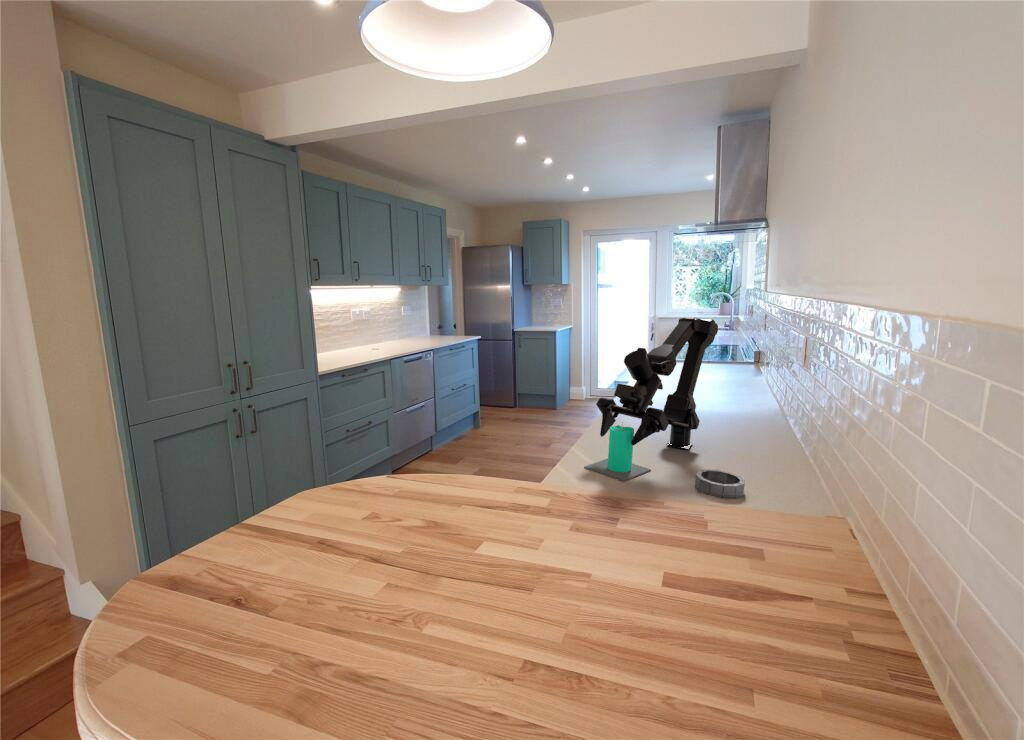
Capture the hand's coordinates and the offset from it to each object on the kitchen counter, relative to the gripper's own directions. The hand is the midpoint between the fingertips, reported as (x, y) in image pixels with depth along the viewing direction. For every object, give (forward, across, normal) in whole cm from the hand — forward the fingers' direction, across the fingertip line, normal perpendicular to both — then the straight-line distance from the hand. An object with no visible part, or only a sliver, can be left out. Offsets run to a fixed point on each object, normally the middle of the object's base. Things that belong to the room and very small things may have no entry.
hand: (616, 439), depth 121 cm
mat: (+5, 0, +7) cm, 8 cm away
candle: (+4, 0, +7) cm, 8 cm away
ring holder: (-1, +23, +12) cm, 26 cm away
